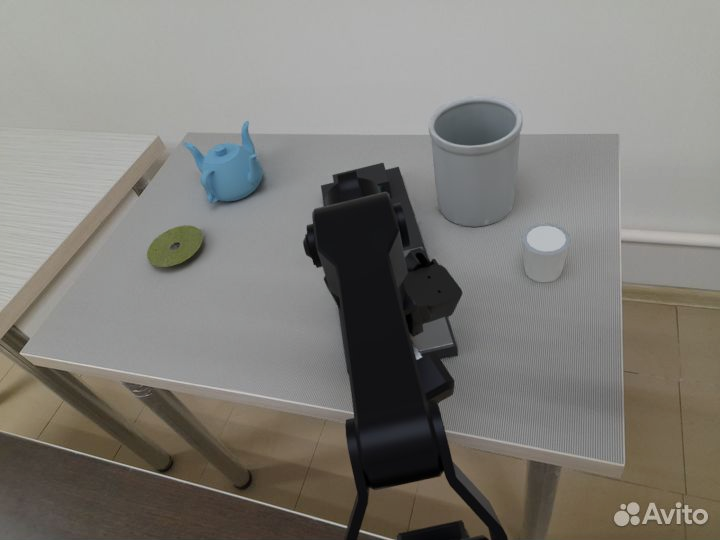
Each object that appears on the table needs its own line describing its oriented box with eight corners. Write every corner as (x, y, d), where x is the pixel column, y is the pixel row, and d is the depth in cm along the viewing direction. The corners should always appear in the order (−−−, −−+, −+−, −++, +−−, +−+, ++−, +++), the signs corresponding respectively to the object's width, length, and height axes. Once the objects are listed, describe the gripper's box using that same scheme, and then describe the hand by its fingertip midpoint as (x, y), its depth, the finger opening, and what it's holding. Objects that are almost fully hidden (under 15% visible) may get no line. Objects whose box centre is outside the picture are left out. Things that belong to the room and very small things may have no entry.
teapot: (207, 217, 109) (186, 178, 101) (201, 177, 119) (181, 139, 112) (274, 194, 110) (258, 153, 102) (262, 156, 120) (247, 117, 113)
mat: (152, 242, 106) (147, 235, 105) (205, 225, 107) (201, 218, 105) (150, 280, 99) (145, 273, 97) (207, 262, 99) (203, 255, 98)
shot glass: (518, 283, 82) (519, 252, 77) (522, 251, 86) (524, 220, 81) (565, 288, 80) (569, 256, 75) (567, 255, 84) (571, 223, 79)
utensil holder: (525, 180, 98) (530, 95, 85) (510, 235, 89) (512, 149, 76) (448, 173, 103) (442, 92, 91) (427, 224, 95) (416, 143, 82)
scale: (458, 355, 75) (455, 329, 71) (350, 379, 76) (340, 355, 71) (400, 176, 106) (395, 149, 101) (323, 194, 106) (315, 169, 102)
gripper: (506, 331, 45) (496, 392, 58) (401, 195, 55) (412, 273, 68) (394, 394, 44) (409, 442, 57) (307, 242, 54) (337, 312, 67)
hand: (393, 359), depth 62 cm, fingers open, 9 cm apart
